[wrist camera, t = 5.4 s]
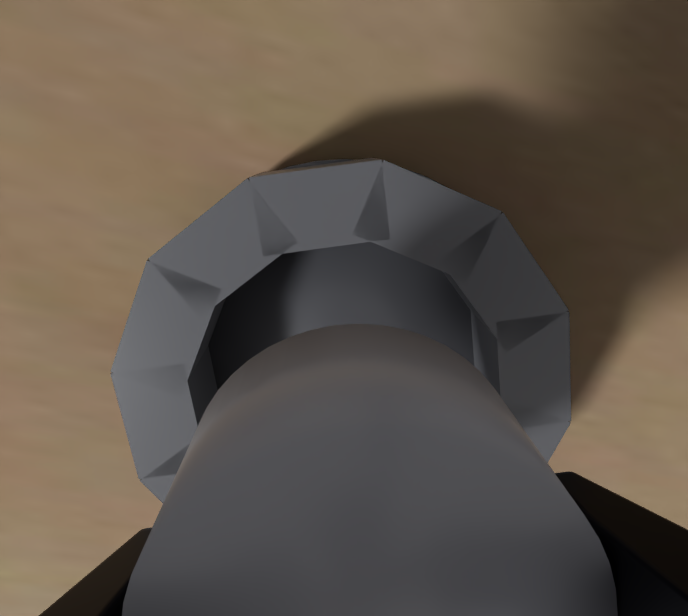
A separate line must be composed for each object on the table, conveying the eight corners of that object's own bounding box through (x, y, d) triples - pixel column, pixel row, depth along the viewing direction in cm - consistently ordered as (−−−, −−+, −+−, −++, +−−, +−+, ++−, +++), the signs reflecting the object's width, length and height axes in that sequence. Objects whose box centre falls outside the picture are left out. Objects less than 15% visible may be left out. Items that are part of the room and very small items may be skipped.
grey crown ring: (521, 133, 15) (571, 129, 12) (535, 489, 18) (576, 556, 15) (111, 188, 15) (58, 198, 12) (195, 534, 18) (170, 610, 15)
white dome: (512, 301, 9) (620, 390, 6) (525, 591, 11) (614, 789, 8) (155, 349, 9) (60, 465, 6) (224, 631, 11) (180, 847, 8)
